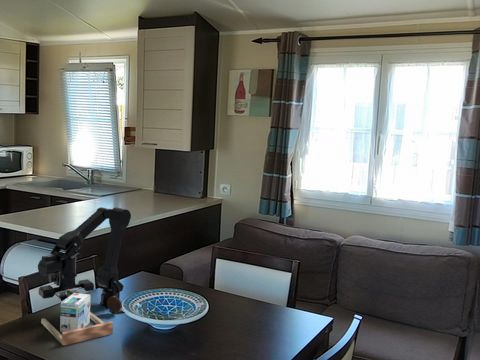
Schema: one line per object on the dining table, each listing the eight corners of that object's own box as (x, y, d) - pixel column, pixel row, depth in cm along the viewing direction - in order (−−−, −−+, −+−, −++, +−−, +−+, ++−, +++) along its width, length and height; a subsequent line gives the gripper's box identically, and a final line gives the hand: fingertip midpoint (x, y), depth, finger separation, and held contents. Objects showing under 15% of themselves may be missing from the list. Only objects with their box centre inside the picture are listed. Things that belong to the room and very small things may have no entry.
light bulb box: (77, 334, 168) (78, 304, 167) (59, 332, 169) (59, 302, 168) (90, 322, 179) (91, 294, 178) (72, 320, 179) (73, 292, 178)
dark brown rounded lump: (130, 309, 194) (130, 291, 193) (119, 316, 186) (120, 298, 185) (112, 306, 196) (113, 288, 195) (101, 312, 188) (102, 294, 188)
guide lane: (87, 313, 187) (88, 303, 186) (112, 333, 171) (113, 322, 170) (41, 323, 175) (41, 312, 175) (63, 345, 159) (63, 334, 159)
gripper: (83, 261, 190) (82, 299, 192) (34, 267, 179) (33, 308, 180) (95, 268, 182) (93, 308, 184) (44, 276, 170) (43, 318, 172)
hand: (66, 310), depth 180 cm, fingers closed
